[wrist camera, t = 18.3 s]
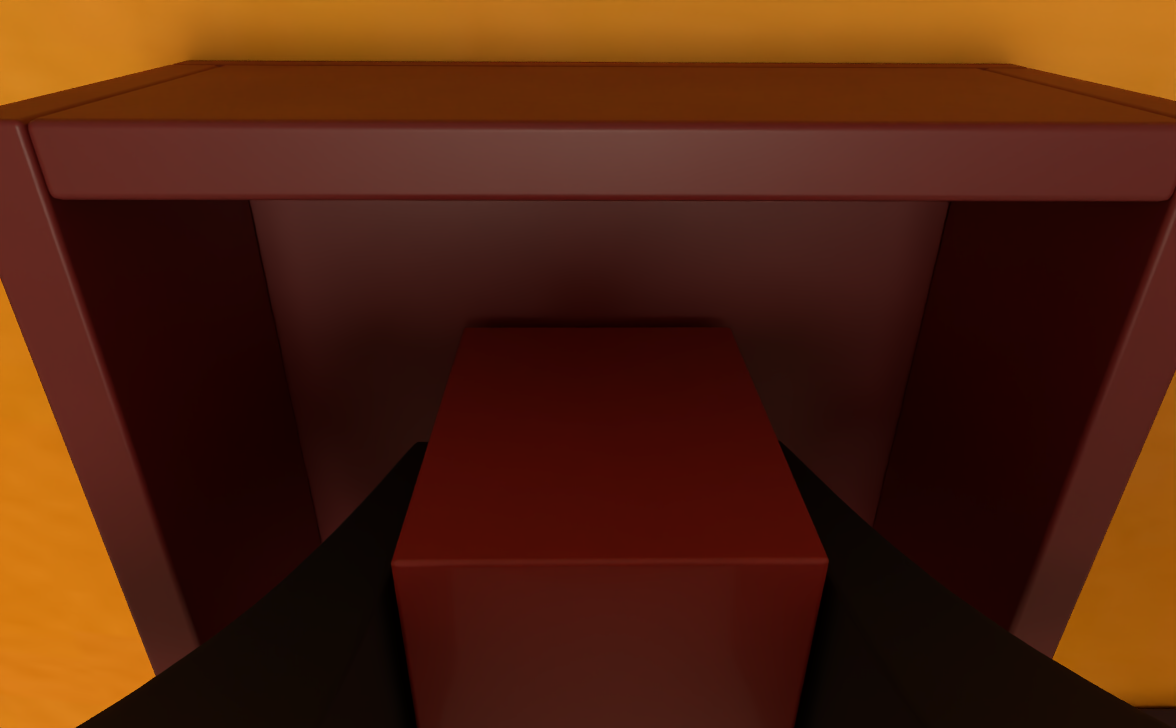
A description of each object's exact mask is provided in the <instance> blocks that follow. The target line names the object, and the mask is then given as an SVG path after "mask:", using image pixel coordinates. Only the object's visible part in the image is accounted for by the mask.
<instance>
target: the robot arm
mask: <svg viewBox="0 0 1176 728" xmlns="http://www.w3.org/2000/svg"><path fill="white" fill-rule="evenodd" d="M778 442H779V444H780V447H781V449H782V451H783V454H784V456H785V458H786V461H787V463H788V465H789V468H790V470H791V472H792V475H793V477H794V479H795V482H796V484H797V487H798V489H799V491H800V494H801V496H802V498H803V501H804V503H805V505H806V508H807V510H808V512H809V515H810V517H811V519H812V522H813V524H814V527H815V529H816V531H817V534H818V536H819V538H820V541H821V543H822V545H823V548H824V550H825V552H826V555H827V557H828V560H829V563H828V568H827V573H826V578H825V583H824V587H823V592H822V597H821V602H820V607H819V611H818V616H817V621H816V626H815V631H814V636H813V640H812V645H811V650H810V655H809V660H808V664H807V669H806V674H805V679H804V684H803V688H802V693H801V698H800V703H799V708H798V713H797V717H796V722H795V727H794V728H1173V727H1171V726H1169V725H1167V724H1165V723H1164V722H1162V721H1160V720H1158V719H1156V718H1154V717H1152V716H1150V715H1148V714H1146V713H1144V712H1143V711H1141V710H1139V709H1137V708H1135V707H1133V706H1132V705H1130V704H1128V703H1126V702H1124V701H1123V700H1121V699H1119V698H1117V697H1115V696H1114V695H1112V694H1110V693H1108V692H1106V691H1105V690H1103V689H1101V688H1099V687H1098V686H1096V685H1094V684H1092V683H1091V682H1089V681H1087V680H1086V679H1084V678H1083V677H1081V676H1079V675H1078V674H1076V673H1074V672H1073V671H1071V670H1069V669H1068V668H1066V667H1064V666H1063V665H1061V664H1059V663H1058V662H1056V661H1054V660H1053V659H1051V658H1049V657H1048V656H1046V655H1044V654H1043V653H1041V652H1039V651H1038V650H1036V649H1035V648H1033V647H1031V646H1030V645H1028V644H1027V643H1025V642H1024V641H1022V640H1021V639H1019V638H1017V637H1016V636H1014V635H1013V634H1011V633H1010V632H1008V631H1007V630H1005V629H1004V628H1002V627H1001V626H999V625H998V624H997V623H995V622H994V621H992V620H991V619H989V618H988V617H987V616H985V615H984V614H982V613H981V612H979V611H978V610H976V609H975V608H974V607H972V606H971V605H969V604H968V603H966V602H965V601H964V600H962V599H961V598H959V597H958V596H956V595H955V594H954V593H952V592H951V591H950V590H948V589H947V588H946V587H944V586H943V585H942V584H940V583H939V582H938V581H936V580H935V579H934V578H933V577H931V576H930V575H929V574H928V573H926V572H925V571H924V570H923V569H921V568H920V567H919V566H918V565H916V564H915V563H914V562H913V561H912V560H910V559H909V558H908V557H907V556H905V555H904V554H903V553H902V552H900V551H899V550H898V549H897V548H895V547H894V546H893V545H892V544H891V543H890V542H888V541H887V540H886V539H885V538H884V537H883V536H881V535H880V534H879V533H878V532H877V531H876V530H875V529H873V528H872V527H871V526H870V525H869V524H868V523H867V522H866V521H864V520H863V519H862V518H861V517H860V516H859V515H858V514H857V513H856V512H855V511H853V510H852V509H851V508H850V507H849V506H848V505H847V504H846V503H845V502H844V501H843V500H842V499H840V498H839V497H838V496H837V495H836V494H835V493H834V492H833V491H832V490H831V489H830V488H829V487H828V486H827V485H826V484H825V483H824V482H823V481H822V480H821V479H820V478H818V477H817V476H816V475H815V474H814V473H813V472H812V471H811V470H810V469H809V468H808V467H807V466H806V465H805V464H804V463H803V462H802V461H801V460H800V459H799V458H798V457H797V456H796V455H795V454H794V453H793V452H792V451H791V450H790V449H789V448H788V447H786V446H785V445H784V444H783V443H782V442H781V441H778ZM427 446H428V442H416V443H415V444H414V445H413V446H412V447H411V448H410V449H409V450H408V451H407V452H406V454H405V455H404V456H403V457H402V458H401V459H400V460H399V461H398V463H397V464H396V465H395V466H394V467H393V468H392V469H391V471H390V472H389V473H388V474H387V475H386V476H385V477H384V478H383V480H382V481H381V482H380V483H379V484H378V485H377V486H376V487H375V488H374V490H373V491H372V492H371V493H370V494H369V495H368V496H367V497H366V498H365V499H364V501H363V502H362V503H361V504H360V505H359V506H358V507H357V508H356V509H355V510H354V511H353V512H352V513H351V514H350V515H349V516H348V517H347V518H346V519H345V520H344V521H343V522H342V524H341V525H340V526H339V527H338V528H337V529H336V530H335V531H334V532H333V533H332V534H331V535H330V536H329V537H328V538H327V539H326V540H325V541H324V542H323V543H322V544H321V545H320V546H319V547H317V548H316V549H315V550H314V551H313V552H312V553H311V554H310V555H309V556H308V557H307V558H306V559H305V560H304V561H303V562H302V563H300V564H299V565H298V566H297V567H296V568H295V569H294V570H293V571H292V572H291V573H290V574H289V575H288V576H287V577H286V578H284V579H283V580H282V581H281V582H280V583H279V584H278V585H277V586H275V587H274V588H273V589H272V590H271V591H270V592H268V593H267V594H266V595H265V596H264V597H263V598H262V599H260V600H259V601H258V602H257V603H256V604H254V605H253V606H252V607H250V608H249V609H248V610H247V611H245V612H244V613H243V614H242V615H240V616H239V617H238V618H236V619H235V620H234V621H233V622H231V623H230V624H229V625H228V626H226V627H225V628H224V629H222V630H221V631H220V632H218V633H217V634H216V635H214V636H213V637H212V638H210V639H209V640H208V641H206V642H205V643H203V644H202V645H201V646H199V647H198V648H196V649H195V650H193V651H192V652H190V653H189V654H187V655H186V656H185V657H183V658H182V659H180V660H179V661H177V662H176V663H174V664H173V665H172V666H170V667H169V668H167V669H166V670H164V671H163V672H161V673H160V674H159V675H157V676H156V677H154V678H153V679H151V680H150V681H148V682H147V683H146V684H144V685H143V686H141V687H140V688H138V689H137V690H135V691H134V692H132V693H131V694H129V695H128V696H126V697H124V698H123V699H121V700H120V701H118V702H116V703H115V704H113V705H112V706H110V707H108V708H107V709H105V710H104V711H102V712H100V713H99V714H97V715H96V716H94V717H92V718H91V719H89V720H87V721H86V722H84V723H83V724H81V725H79V726H77V727H76V728H417V726H416V720H415V713H414V707H413V701H412V694H411V688H410V682H409V675H408V669H407V663H406V656H405V650H404V644H403V637H402V631H401V625H400V618H399V612H398V606H397V599H396V593H395V587H394V580H393V574H392V568H391V561H392V558H393V555H394V552H395V548H396V545H397V542H398V539H399V536H400V532H401V529H402V526H403V523H404V520H405V516H406V513H407V510H408V507H409V504H410V500H411V497H412V494H413V491H414V487H415V484H416V481H417V478H418V475H419V471H420V468H421V465H422V462H423V459H424V455H425V452H426V449H427Z"/></svg>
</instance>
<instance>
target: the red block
mask: <svg viewBox="0 0 1176 728" xmlns="http://www.w3.org/2000/svg"><path fill="white" fill-rule="evenodd" d="M828 563H829V560H828V557H827V555H826V552H825V550H824V548H823V545H822V543H821V541H820V538H819V536H818V534H817V531H816V529H815V527H814V524H813V522H812V519H811V517H810V515H809V512H808V510H807V508H806V505H805V503H804V501H803V498H802V496H801V494H800V491H799V489H798V487H797V484H796V482H795V479H794V477H793V475H792V472H791V470H790V468H789V465H788V463H787V461H786V458H785V456H784V454H783V451H782V449H781V447H780V444H779V442H778V439H777V437H776V435H775V432H774V430H773V428H772V425H771V423H770V421H769V418H768V416H767V414H766V411H765V409H764V407H763V404H762V402H761V399H760V397H759V395H758V392H757V390H756V388H755V385H754V383H753V381H752V378H751V376H750V374H749V371H748V369H747V367H746V364H745V362H744V360H743V357H742V355H741V352H740V350H739V348H738V345H737V343H736V341H735V338H734V336H733V334H732V331H731V329H730V328H727V327H655V328H465V329H464V330H463V333H462V336H461V340H460V343H459V346H458V349H457V353H456V356H455V359H454V362H453V365H452V369H451V372H450V375H449V378H448V381H447V385H446V388H445V391H444V394H443V398H442V401H441V404H440V407H439V410H438V414H437V417H436V420H435V423H434V426H433V430H432V433H431V436H430V439H429V442H428V446H427V449H426V452H425V455H424V459H423V462H422V465H421V468H420V471H419V475H418V478H417V481H416V484H415V487H414V491H413V494H412V497H411V500H410V504H409V507H408V510H407V513H406V516H405V520H404V523H403V526H402V529H401V532H400V536H399V539H398V542H397V545H396V548H395V552H394V555H393V558H392V561H391V568H392V574H393V580H394V587H395V593H396V599H397V606H398V612H399V618H400V625H401V631H402V637H403V644H404V650H405V656H406V663H407V669H408V675H409V682H410V688H411V694H412V701H413V707H414V713H415V720H416V726H417V728H794V727H795V722H796V717H797V713H798V708H799V703H800V698H801V693H802V688H803V684H804V679H805V674H806V669H807V664H808V660H809V655H810V650H811V645H812V640H813V636H814V631H815V626H816V621H817V616H818V611H819V607H820V602H821V597H822V592H823V587H824V583H825V578H826V573H827V568H828Z"/></svg>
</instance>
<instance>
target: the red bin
mask: <svg viewBox="0 0 1176 728" xmlns="http://www.w3.org/2000/svg"><path fill="white" fill-rule="evenodd" d="M0 278H1V281H2V283H3V286H4V288H5V291H6V294H7V296H8V299H9V301H10V304H11V306H12V309H13V311H14V314H15V317H16V319H17V322H18V324H19V327H20V329H21V332H22V335H23V337H24V340H25V342H26V345H27V347H28V350H29V352H30V355H31V358H32V360H33V363H34V365H35V368H36V370H37V373H38V376H39V378H40V381H41V383H42V386H43V388H44V391H45V393H46V396H47V399H48V401H49V404H50V406H51V409H52V411H53V414H54V417H55V419H56V422H57V424H58V427H59V429H60V432H61V434H62V437H63V440H64V442H65V445H66V447H67V450H68V452H69V455H70V458H71V460H72V463H73V465H74V468H75V470H76V473H77V475H78V478H79V481H80V483H81V486H82V488H83V491H84V493H85V496H86V498H87V501H88V504H89V506H90V509H91V511H92V514H93V516H94V519H95V522H96V524H97V527H98V529H99V532H100V534H101V537H102V539H103V542H104V545H105V547H106V550H107V552H108V555H109V557H110V560H111V563H112V565H113V568H114V570H115V573H116V575H117V578H118V580H119V583H120V586H121V588H122V591H123V593H124V596H125V598H126V601H127V604H128V606H129V609H130V611H131V614H132V616H133V619H134V621H135V624H136V627H137V629H138V632H139V634H140V637H141V639H142V642H143V645H144V647H145V650H146V652H147V655H148V657H149V660H150V662H151V665H152V668H153V670H154V673H155V675H156V676H157V675H159V674H160V673H161V672H163V671H164V670H166V669H167V668H169V667H170V666H172V665H173V664H174V663H176V662H177V661H179V660H180V659H182V658H183V657H185V656H186V655H187V654H189V653H190V652H192V651H193V650H195V649H196V648H198V647H199V646H201V645H202V644H203V643H205V642H206V641H208V640H209V639H210V638H212V637H213V636H214V635H216V634H217V633H218V632H220V631H221V630H222V629H224V628H225V627H226V626H228V625H229V624H230V623H231V622H233V621H234V620H235V619H236V618H238V617H239V616H240V615H242V614H243V613H244V612H245V611H247V610H248V609H249V608H250V607H252V606H253V605H254V604H256V603H257V602H258V601H259V600H260V599H262V598H263V597H264V596H265V595H266V594H267V593H268V592H270V591H271V590H272V589H273V588H274V587H275V586H277V585H278V584H279V583H280V582H281V581H282V580H283V579H284V578H286V577H287V576H288V575H289V574H290V573H291V572H292V571H293V570H294V569H295V568H296V567H297V566H298V565H299V564H300V563H302V562H303V561H304V560H305V559H306V558H307V557H308V556H309V555H310V554H311V553H312V552H313V551H314V550H315V549H316V548H317V547H319V546H320V545H321V544H322V543H323V542H324V541H325V540H326V539H327V538H328V537H329V536H330V535H331V534H332V533H333V532H334V531H335V530H336V529H337V528H338V527H339V526H340V525H341V524H342V522H343V521H344V520H345V519H346V518H347V517H348V516H349V515H350V514H351V513H352V512H353V511H354V510H355V509H356V508H357V507H358V506H359V505H360V504H361V503H362V502H363V501H364V499H365V498H366V497H367V496H368V495H369V494H370V493H371V492H372V491H373V490H374V488H375V487H376V486H377V485H378V484H379V483H380V482H381V481H382V480H383V478H384V477H385V476H386V475H387V474H388V473H389V472H390V471H391V469H392V468H393V467H394V466H395V465H396V464H397V463H398V461H399V460H400V459H401V458H402V457H403V456H404V455H405V454H406V452H407V451H408V450H409V449H410V448H411V447H412V446H413V445H414V444H415V443H416V442H429V439H430V436H431V433H432V430H433V426H434V423H435V420H436V417H437V414H438V410H439V407H440V404H441V401H442V398H443V394H444V391H445V388H446V385H447V381H448V378H449V375H450V372H451V369H452V365H453V362H454V359H455V356H456V353H457V349H458V346H459V343H460V340H461V336H462V333H463V330H464V329H465V328H655V327H727V328H730V329H731V331H732V334H733V336H734V338H735V341H736V343H737V345H738V348H739V350H740V352H741V355H742V357H743V360H744V362H745V364H746V367H747V369H748V371H749V374H750V376H751V378H752V381H753V383H754V385H755V388H756V390H757V392H758V395H759V397H760V399H761V402H762V404H763V407H764V409H765V411H766V414H767V416H768V418H769V421H770V423H771V425H772V428H773V430H774V432H775V435H776V437H777V439H778V441H781V442H782V443H783V444H784V445H785V446H786V447H788V448H789V449H790V450H791V451H792V452H793V453H794V454H795V455H796V456H797V457H798V458H799V459H800V460H801V461H802V462H803V463H804V464H805V465H806V466H807V467H808V468H809V469H810V470H811V471H812V472H813V473H814V474H815V475H816V476H817V477H818V478H820V479H821V480H822V481H823V482H824V483H825V484H826V485H827V486H828V487H829V488H830V489H831V490H832V491H833V492H834V493H835V494H836V495H837V496H838V497H839V498H840V499H842V500H843V501H844V502H845V503H846V504H847V505H848V506H849V507H850V508H851V509H852V510H853V511H855V512H856V513H857V514H858V515H859V516H860V517H861V518H862V519H863V520H864V521H866V522H867V523H868V524H869V525H870V526H871V527H872V528H873V529H875V530H876V531H877V532H878V533H879V534H880V535H881V536H883V537H884V538H885V539H886V540H887V541H888V542H890V543H891V544H892V545H893V546H894V547H895V548H897V549H898V550H899V551H900V552H902V553H903V554H904V555H905V556H907V557H908V558H909V559H910V560H912V561H913V562H914V563H915V564H916V565H918V566H919V567H920V568H921V569H923V570H924V571H925V572H926V573H928V574H929V575H930V576H931V577H933V578H934V579H935V580H936V581H938V582H939V583H940V584H942V585H943V586H944V587H946V588H947V589H948V590H950V591H951V592H952V593H954V594H955V595H956V596H958V597H959V598H961V599H962V600H964V601H965V602H966V603H968V604H969V605H971V606H972V607H974V608H975V609H976V610H978V611H979V612H981V613H982V614H984V615H985V616H987V617H988V618H989V619H991V620H992V621H994V622H995V623H997V624H998V625H999V626H1001V627H1002V628H1004V629H1005V630H1007V631H1008V632H1010V633H1011V634H1013V635H1014V636H1016V637H1017V638H1019V639H1021V640H1022V641H1024V642H1025V643H1027V644H1028V645H1030V646H1031V647H1033V648H1035V649H1036V650H1038V651H1039V652H1041V653H1043V654H1044V655H1046V656H1048V657H1049V658H1051V659H1052V658H1053V655H1054V653H1055V651H1056V648H1057V646H1058V644H1059V641H1060V639H1061V637H1062V634H1063V632H1064V630H1065V627H1066V625H1067V623H1068V620H1069V618H1070V616H1071V613H1072V611H1073V609H1074V606H1075V604H1076V602H1077V599H1078V597H1079V595H1080V592H1081V590H1082V588H1083V585H1084V583H1085V581H1086V578H1087V576H1088V574H1089V571H1090V569H1091V567H1092V564H1093V562H1094V560H1095V557H1096V555H1097V553H1098V550H1099V548H1100V546H1101V543H1102V541H1103V539H1104V536H1105V534H1106V532H1107V529H1108V527H1109V525H1110V522H1111V520H1112V518H1113V515H1114V513H1115V511H1116V508H1117V506H1118V504H1119V501H1120V499H1121V497H1122V494H1123V492H1124V490H1125V487H1126V485H1127V483H1128V480H1129V478H1130V476H1131V473H1132V471H1133V469H1134V466H1135V464H1136V462H1137V459H1138V457H1139V455H1140V452H1141V450H1142V448H1143V445H1144V443H1145V441H1146V438H1147V436H1148V434H1149V431H1150V429H1151V427H1152V424H1153V422H1154V420H1155V417H1156V415H1157V413H1158V410H1159V408H1160V405H1161V403H1162V401H1163V398H1164V396H1165V394H1166V391H1167V389H1168V387H1169V384H1170V382H1171V380H1172V377H1173V375H1174V373H1175V370H1176V101H1173V100H1168V99H1164V98H1160V97H1155V96H1151V95H1146V94H1142V93H1137V92H1133V91H1128V90H1124V89H1119V88H1115V87H1111V86H1106V85H1102V84H1097V83H1093V82H1088V81H1084V80H1079V79H1075V78H1070V77H1066V76H1061V75H1057V74H1053V73H1048V72H1044V71H1039V70H1035V69H1028V68H1026V67H1022V66H1018V65H1013V64H870V63H632V62H393V61H184V62H180V63H176V64H173V65H168V66H164V67H160V68H155V69H151V70H147V71H143V72H139V73H135V74H130V75H126V76H122V77H118V78H114V79H110V80H106V81H101V82H97V83H93V84H89V85H85V86H81V87H76V88H72V89H68V90H64V91H60V92H56V93H51V94H47V95H43V96H39V97H35V98H31V99H27V100H22V101H18V102H14V103H10V104H6V105H2V106H0Z"/></svg>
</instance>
